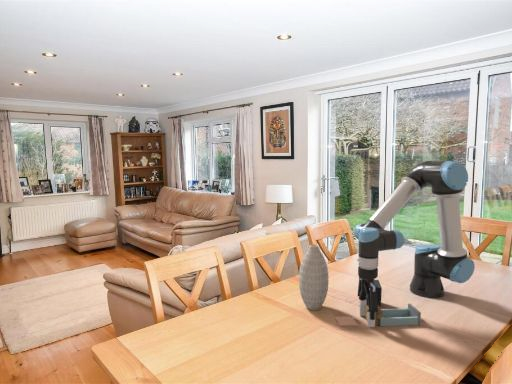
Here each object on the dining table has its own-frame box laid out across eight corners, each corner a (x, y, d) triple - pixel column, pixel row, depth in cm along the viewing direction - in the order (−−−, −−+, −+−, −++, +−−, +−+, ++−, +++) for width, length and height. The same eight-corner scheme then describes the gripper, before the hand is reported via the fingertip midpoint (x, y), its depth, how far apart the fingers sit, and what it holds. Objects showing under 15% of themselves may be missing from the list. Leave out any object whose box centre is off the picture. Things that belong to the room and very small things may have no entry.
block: (377, 319, 145) (377, 305, 145) (382, 325, 140) (382, 310, 140) (365, 319, 145) (365, 305, 144) (369, 325, 140) (370, 310, 140)
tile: (351, 317, 147) (351, 316, 146) (357, 326, 140) (357, 324, 140) (335, 318, 146) (335, 316, 146) (340, 326, 139) (340, 325, 139)
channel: (409, 315, 148) (410, 303, 148) (420, 324, 140) (420, 312, 139) (372, 316, 148) (372, 304, 147) (380, 326, 139) (381, 314, 139)
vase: (331, 304, 160) (331, 243, 157) (324, 316, 148) (324, 250, 145) (303, 299, 165) (304, 240, 162) (295, 310, 154) (295, 247, 151)
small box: (381, 311, 152) (382, 287, 151) (366, 310, 154) (366, 286, 153) (378, 301, 163) (379, 279, 162) (363, 300, 164) (364, 278, 163)
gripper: (350, 259, 151) (349, 309, 154) (368, 276, 130) (367, 334, 132) (367, 258, 152) (366, 308, 154) (388, 275, 130) (386, 333, 133)
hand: (366, 320), depth 143 cm, fingers open, 9 cm apart
